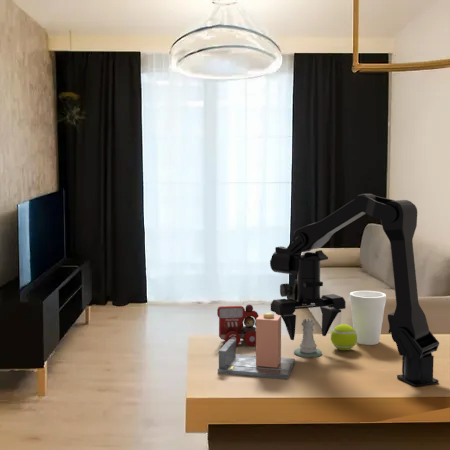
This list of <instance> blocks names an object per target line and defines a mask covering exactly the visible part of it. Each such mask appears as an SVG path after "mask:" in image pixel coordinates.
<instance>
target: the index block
mask: <svg viewBox="0 0 450 450" xmlns="http://www.w3.org/2000/svg"><path fill="white" fill-rule="evenodd" d="M274 313H275V312H263V314H262V313H260V314H258V315H259V316H258V317H257V319H256V326H255V327H256V345H255V356H256V366H263V367H276V368H277V367H278V366H279V364H280V362H281V358H282V317H281V315H277V314H274Z"/></svg>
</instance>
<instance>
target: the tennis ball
mask: <svg viewBox="0 0 450 450" xmlns="http://www.w3.org/2000/svg"><path fill="white" fill-rule="evenodd" d="M330 341H331V343H332V345H333V346H334V347H335V348H336V349H338V350H339V351H349V350H352V349H353V348H355V345H356V344H357V343H356V342H357V334H356V331H355V330H354V328H353V327H352V326H351V325H349V324H346V323H341V324H338V325H336V326H335V327H333V329H332V331H331V334H330Z"/></svg>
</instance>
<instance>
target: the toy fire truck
mask: <svg viewBox="0 0 450 450" xmlns="http://www.w3.org/2000/svg"><path fill="white" fill-rule="evenodd" d="M216 311H217V313H216V314H217V318H218V337H219V339H221V340H223V341H224V344H225V343H226V342H227V341H228V340H229V339H234V340H236V347H238V346H239V345H240V343H241V340H243V342H244V343H245V345H247V346H248V347H256V319H257V317H258V316H259V315H260V314H259V313H258V312H257V310H254V306H253V305H252V304H247V305H246V306H245V307H244V306H242V305H229V306H227V305H226V306H223V305H222V306H218V307H217V310H216Z"/></svg>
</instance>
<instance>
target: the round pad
mask: <svg viewBox="0 0 450 450" xmlns="http://www.w3.org/2000/svg"><path fill="white" fill-rule="evenodd" d="M300 348H301V347H300ZM300 348H296V349H295V350H293V354H294V355H295V356H297V357H302V358H310V359H311V358H318V357H321V356H322V355H323V351H322V350H320V349H318V348H316V349H317V351H316V352H315V353H310V354H308V353H302V352H301V351H300V350H299V349H300Z"/></svg>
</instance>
